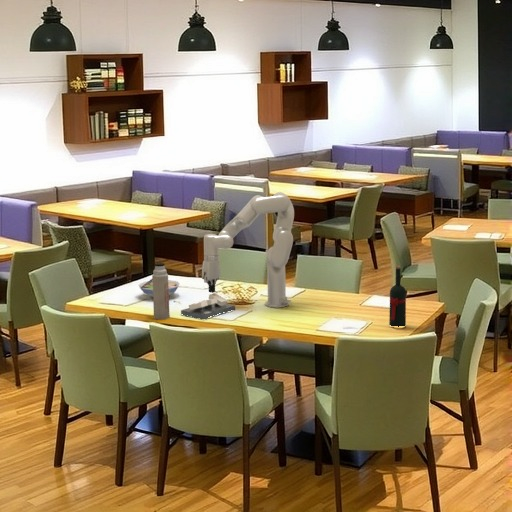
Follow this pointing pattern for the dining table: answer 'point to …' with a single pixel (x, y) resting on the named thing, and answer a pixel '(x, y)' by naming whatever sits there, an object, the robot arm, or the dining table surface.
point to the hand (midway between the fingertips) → (211, 292)
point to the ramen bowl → (148, 287)
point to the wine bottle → (397, 303)
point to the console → (207, 310)
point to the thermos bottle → (160, 292)
